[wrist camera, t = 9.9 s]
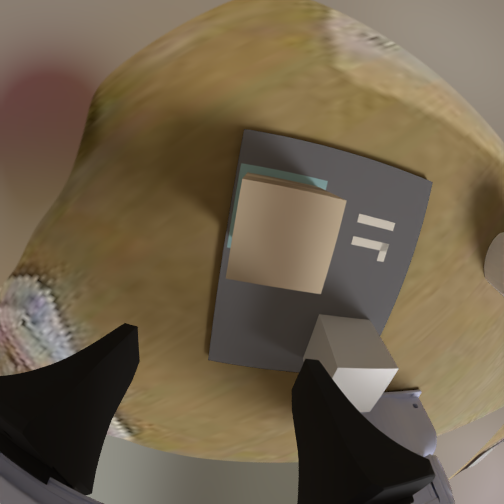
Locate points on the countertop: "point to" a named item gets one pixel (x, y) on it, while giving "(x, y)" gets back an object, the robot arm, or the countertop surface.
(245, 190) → the maple block
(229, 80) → the countertop surface
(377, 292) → the mat
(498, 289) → the white tapered cylinder
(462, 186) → the countertop surface
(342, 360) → the grey block
